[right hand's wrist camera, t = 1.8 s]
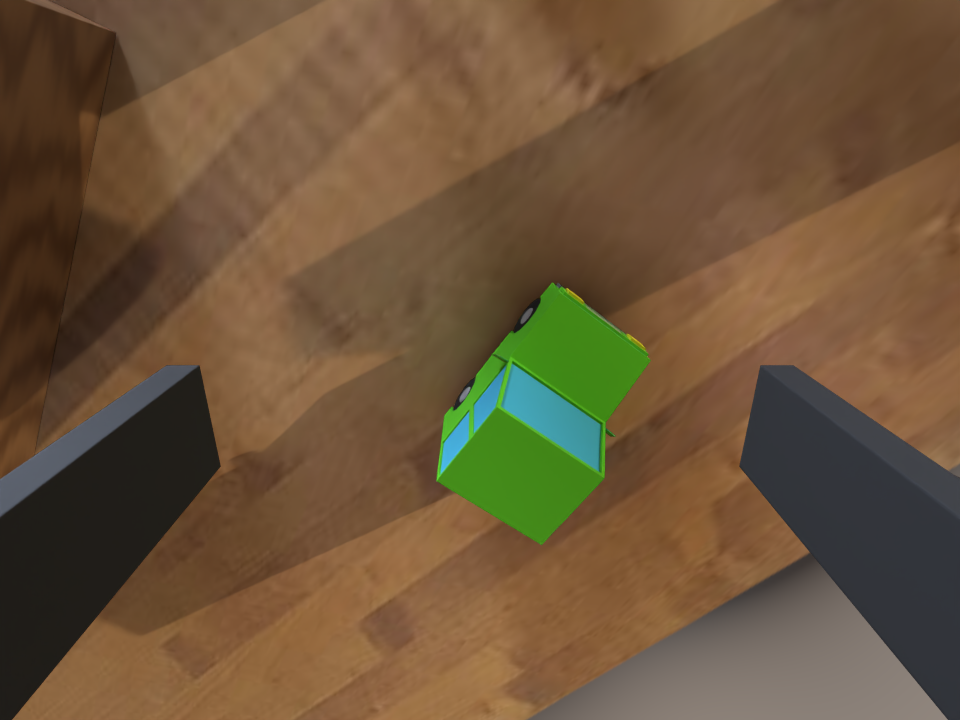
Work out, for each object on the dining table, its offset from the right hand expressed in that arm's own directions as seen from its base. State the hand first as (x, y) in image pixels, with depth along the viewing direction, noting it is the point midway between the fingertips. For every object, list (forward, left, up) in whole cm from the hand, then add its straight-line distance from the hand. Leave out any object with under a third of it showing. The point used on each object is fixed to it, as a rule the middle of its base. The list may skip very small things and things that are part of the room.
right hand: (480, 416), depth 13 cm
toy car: (+11, +1, -26) cm, 28 cm away
